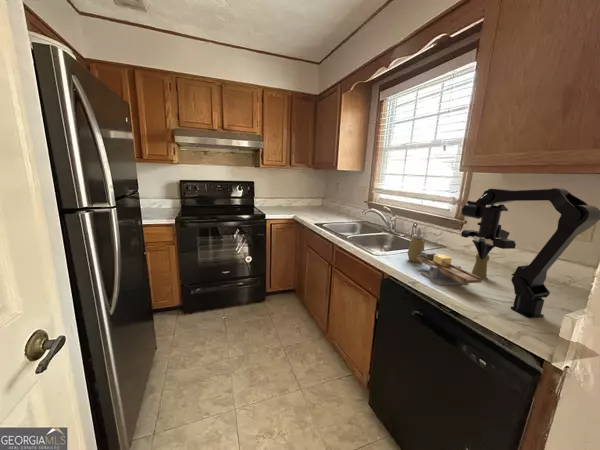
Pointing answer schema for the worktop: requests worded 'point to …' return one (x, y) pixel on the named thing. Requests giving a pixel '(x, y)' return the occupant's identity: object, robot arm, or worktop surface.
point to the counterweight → (427, 255)
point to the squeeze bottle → (416, 246)
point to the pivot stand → (440, 277)
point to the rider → (442, 260)
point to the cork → (480, 267)
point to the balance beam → (453, 272)
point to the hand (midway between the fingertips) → (482, 259)
